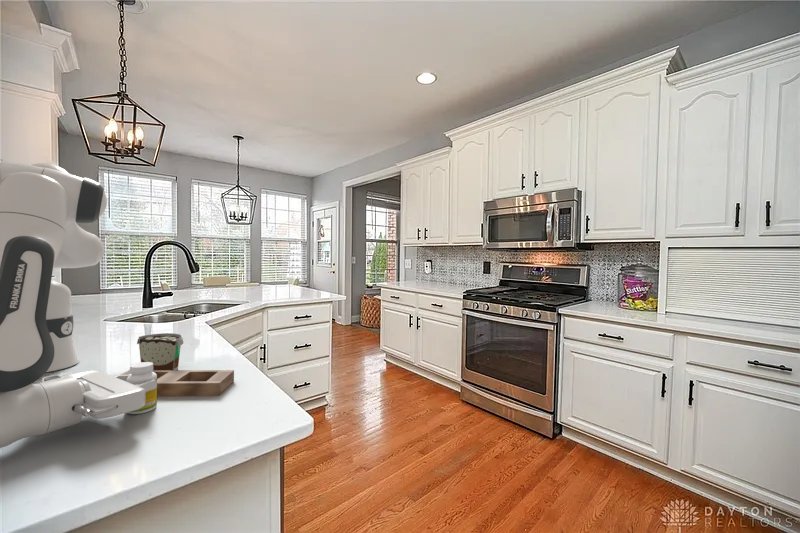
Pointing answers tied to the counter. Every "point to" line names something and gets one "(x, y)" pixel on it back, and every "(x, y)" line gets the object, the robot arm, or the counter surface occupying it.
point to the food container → (161, 350)
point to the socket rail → (192, 382)
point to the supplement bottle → (138, 376)
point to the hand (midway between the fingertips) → (146, 380)
